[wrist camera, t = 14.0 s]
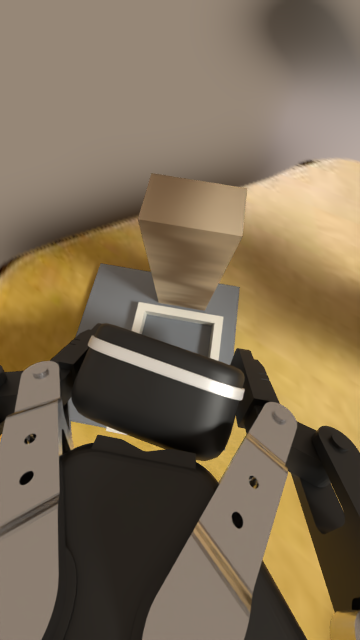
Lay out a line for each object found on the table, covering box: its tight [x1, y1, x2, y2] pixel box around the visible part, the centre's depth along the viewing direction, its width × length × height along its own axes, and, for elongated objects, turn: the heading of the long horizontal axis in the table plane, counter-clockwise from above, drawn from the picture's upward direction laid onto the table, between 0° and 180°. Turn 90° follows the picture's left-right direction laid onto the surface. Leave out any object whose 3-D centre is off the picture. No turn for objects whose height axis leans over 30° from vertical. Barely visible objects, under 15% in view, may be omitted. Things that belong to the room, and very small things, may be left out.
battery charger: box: [71, 323, 245, 461], centre depth 11 cm, size 7×4×11 cm, turn 71°
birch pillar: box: [138, 173, 247, 311], centre depth 14 cm, size 5×3×11 cm, turn 80°
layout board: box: [69, 264, 240, 451], centre depth 18 cm, size 16×16×2 cm
